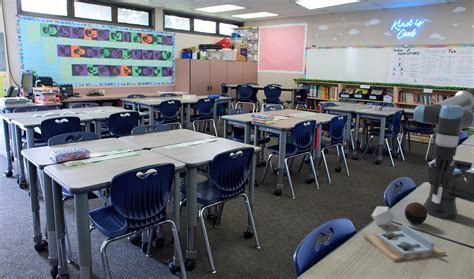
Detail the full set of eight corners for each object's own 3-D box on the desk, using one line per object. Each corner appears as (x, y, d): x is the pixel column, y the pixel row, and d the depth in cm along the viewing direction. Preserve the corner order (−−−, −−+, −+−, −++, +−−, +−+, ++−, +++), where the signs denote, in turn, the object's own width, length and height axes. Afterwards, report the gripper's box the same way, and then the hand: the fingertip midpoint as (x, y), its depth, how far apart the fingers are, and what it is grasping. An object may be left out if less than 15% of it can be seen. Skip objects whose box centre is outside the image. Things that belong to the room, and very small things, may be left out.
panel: (403, 232, 154) (404, 224, 153) (433, 251, 139) (434, 242, 138) (375, 235, 150) (377, 227, 149) (403, 255, 135) (404, 246, 134)
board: (411, 233, 157) (412, 225, 156) (444, 254, 140) (446, 246, 139) (363, 238, 150) (364, 230, 149) (393, 261, 133) (394, 252, 132)
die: (390, 232, 158) (401, 212, 160) (372, 220, 159) (384, 201, 160) (381, 230, 167) (392, 211, 168) (365, 219, 167) (376, 201, 169)
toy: (397, 219, 170) (400, 200, 168) (414, 218, 173) (417, 198, 171) (413, 228, 161) (416, 207, 159) (430, 226, 164) (433, 206, 162)
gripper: (451, 142, 145) (441, 197, 150) (424, 143, 142) (415, 199, 146) (467, 146, 138) (456, 204, 143) (440, 147, 134) (429, 206, 139)
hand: (435, 201), depth 145 cm, fingers closed
